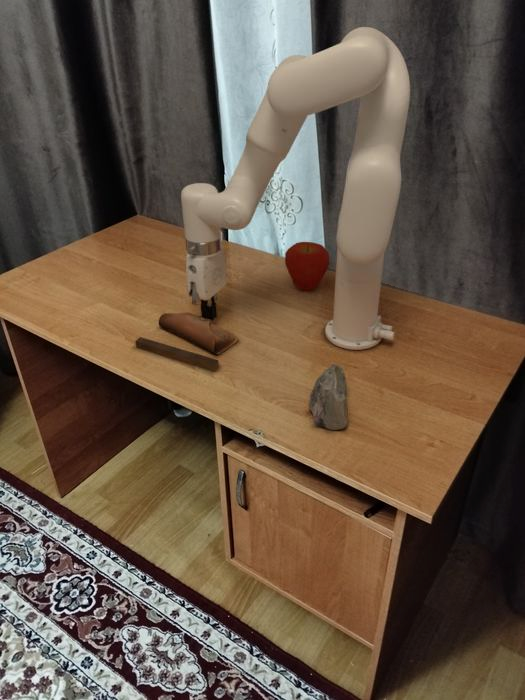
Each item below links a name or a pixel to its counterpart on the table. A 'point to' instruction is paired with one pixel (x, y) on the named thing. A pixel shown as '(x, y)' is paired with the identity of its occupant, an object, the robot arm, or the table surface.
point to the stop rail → (177, 354)
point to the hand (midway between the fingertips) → (209, 317)
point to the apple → (307, 264)
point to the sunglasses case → (198, 331)
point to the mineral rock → (330, 399)
